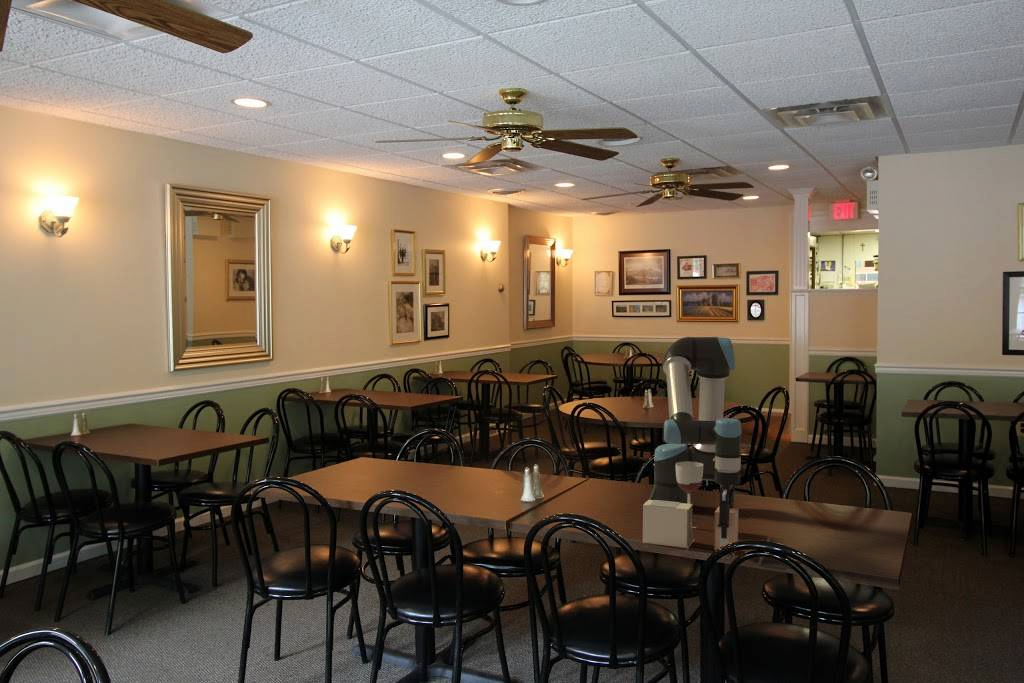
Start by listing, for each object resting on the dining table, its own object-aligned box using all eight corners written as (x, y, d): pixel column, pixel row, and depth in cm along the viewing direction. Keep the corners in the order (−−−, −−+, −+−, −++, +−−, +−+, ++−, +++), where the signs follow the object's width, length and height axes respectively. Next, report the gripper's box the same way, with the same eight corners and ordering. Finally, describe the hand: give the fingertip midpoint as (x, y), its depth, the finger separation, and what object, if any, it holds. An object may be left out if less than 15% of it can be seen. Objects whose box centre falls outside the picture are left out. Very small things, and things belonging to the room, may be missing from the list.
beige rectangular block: (647, 536, 257) (648, 499, 257) (691, 541, 252) (692, 503, 251) (642, 542, 251) (643, 504, 250) (687, 548, 245) (688, 509, 245)
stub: (717, 544, 249) (718, 506, 248) (737, 547, 246) (738, 508, 246) (714, 551, 242) (714, 511, 242) (734, 553, 240) (735, 514, 239)
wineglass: (669, 529, 267) (670, 464, 266) (685, 524, 274) (686, 460, 273) (691, 535, 261) (692, 468, 260) (707, 529, 268) (708, 464, 267)
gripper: (719, 463, 254) (718, 534, 255) (709, 475, 235) (708, 552, 236) (744, 465, 251) (743, 537, 252) (735, 477, 232) (734, 555, 234)
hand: (726, 544), depth 244 cm, fingers closed on stub, 7 cm apart
